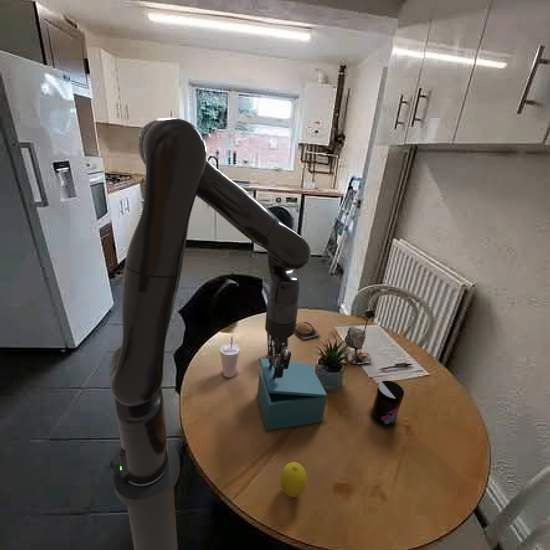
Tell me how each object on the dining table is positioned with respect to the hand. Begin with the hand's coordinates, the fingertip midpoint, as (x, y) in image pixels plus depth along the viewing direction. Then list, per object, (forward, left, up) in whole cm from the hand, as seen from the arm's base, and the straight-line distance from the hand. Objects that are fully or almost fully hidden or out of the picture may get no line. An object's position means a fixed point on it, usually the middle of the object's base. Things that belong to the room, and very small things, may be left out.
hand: (275, 369), depth 82 cm
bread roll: (+23, +37, -15) cm, 46 cm away
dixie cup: (+7, +23, -15) cm, 28 cm away
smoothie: (-10, +17, -15) cm, 25 cm away
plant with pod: (+36, +18, -15) cm, 43 cm away
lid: (+5, 0, -4) cm, 6 cm away
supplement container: (+31, -8, -15) cm, 35 cm away
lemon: (-1, -22, -15) cm, 27 cm away
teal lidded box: (+5, 0, -15) cm, 15 cm away
